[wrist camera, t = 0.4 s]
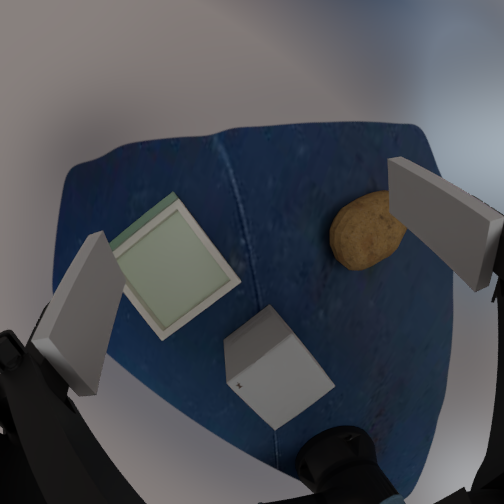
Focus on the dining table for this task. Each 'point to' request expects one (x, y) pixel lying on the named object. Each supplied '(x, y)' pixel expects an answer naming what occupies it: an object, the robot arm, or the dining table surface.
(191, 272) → the shallow square tray
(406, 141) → the dining table surface
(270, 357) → the supplement box
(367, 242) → the potato
